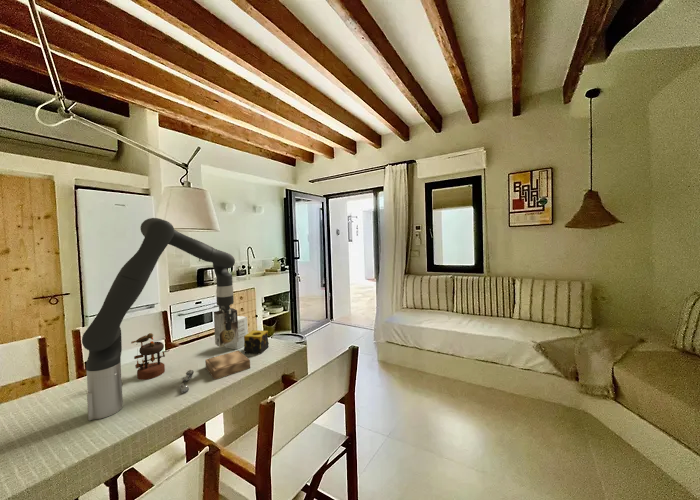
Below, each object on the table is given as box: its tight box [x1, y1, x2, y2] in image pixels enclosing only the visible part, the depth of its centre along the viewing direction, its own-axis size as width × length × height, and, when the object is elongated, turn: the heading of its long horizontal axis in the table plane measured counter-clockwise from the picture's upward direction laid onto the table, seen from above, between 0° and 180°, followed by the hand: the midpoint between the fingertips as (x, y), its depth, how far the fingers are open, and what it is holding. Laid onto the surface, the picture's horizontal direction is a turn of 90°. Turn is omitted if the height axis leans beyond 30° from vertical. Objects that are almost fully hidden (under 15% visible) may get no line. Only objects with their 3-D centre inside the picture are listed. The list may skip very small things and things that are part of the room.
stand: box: [205, 349, 251, 380], centre depth 131 cm, size 16×16×4 cm
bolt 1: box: [182, 369, 195, 383], centre depth 121 cm, size 6×3×3 cm, turn 11°
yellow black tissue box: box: [243, 329, 270, 355], centre depth 152 cm, size 10×10×10 cm
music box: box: [130, 332, 170, 381], centre depth 127 cm, size 15×11×20 cm
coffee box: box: [213, 307, 239, 348], centre depth 130 cm, size 9×6×16 cm
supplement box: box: [224, 315, 249, 350], centre depth 159 cm, size 10×9×17 cm
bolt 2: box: [179, 382, 190, 394], centre depth 111 cm, size 6×3×3 cm, turn 41°
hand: (226, 328), depth 130 cm, fingers closed on coffee box, 6 cm apart
